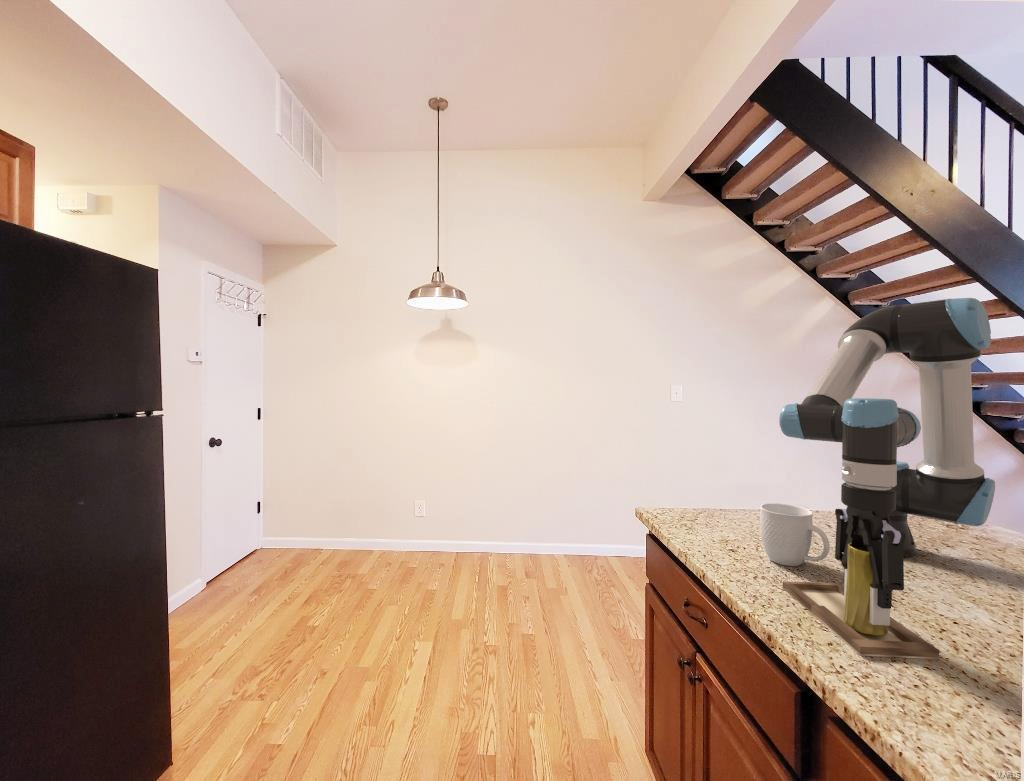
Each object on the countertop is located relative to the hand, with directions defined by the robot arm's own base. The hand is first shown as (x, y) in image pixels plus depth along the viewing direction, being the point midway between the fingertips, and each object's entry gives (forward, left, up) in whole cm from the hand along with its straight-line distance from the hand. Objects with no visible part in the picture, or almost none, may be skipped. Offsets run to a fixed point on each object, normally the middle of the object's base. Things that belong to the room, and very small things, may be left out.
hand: (865, 613), depth 77 cm
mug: (-3, -30, -3) cm, 30 cm away
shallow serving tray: (0, -4, -3) cm, 5 cm away
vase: (0, 0, -3) cm, 3 cm away
